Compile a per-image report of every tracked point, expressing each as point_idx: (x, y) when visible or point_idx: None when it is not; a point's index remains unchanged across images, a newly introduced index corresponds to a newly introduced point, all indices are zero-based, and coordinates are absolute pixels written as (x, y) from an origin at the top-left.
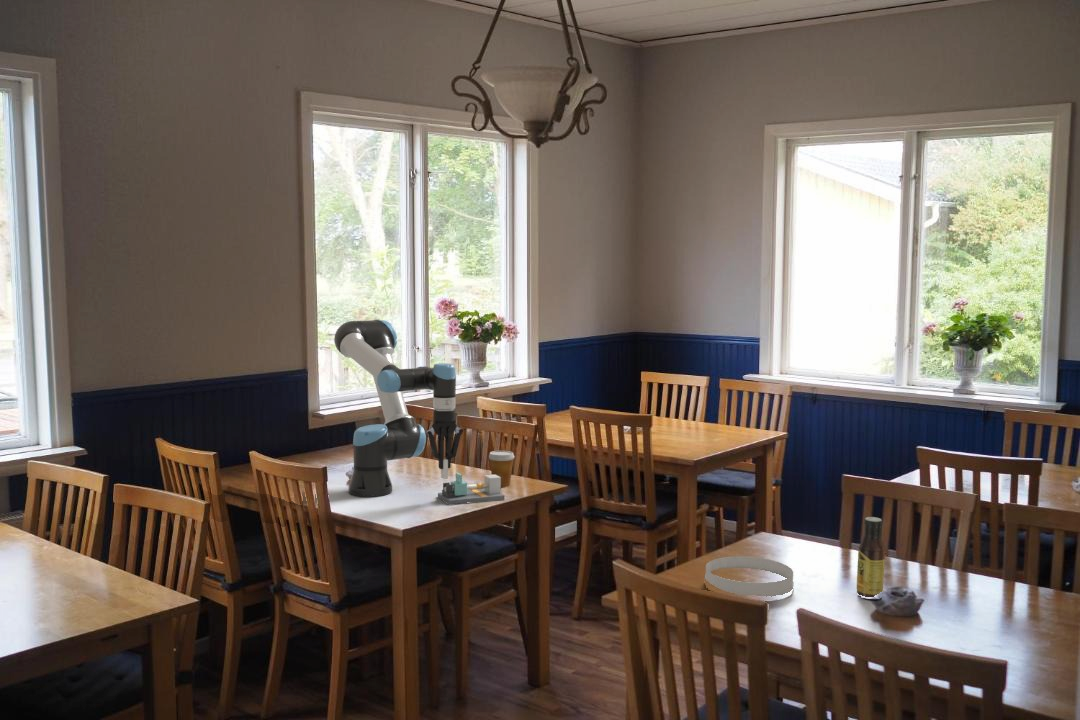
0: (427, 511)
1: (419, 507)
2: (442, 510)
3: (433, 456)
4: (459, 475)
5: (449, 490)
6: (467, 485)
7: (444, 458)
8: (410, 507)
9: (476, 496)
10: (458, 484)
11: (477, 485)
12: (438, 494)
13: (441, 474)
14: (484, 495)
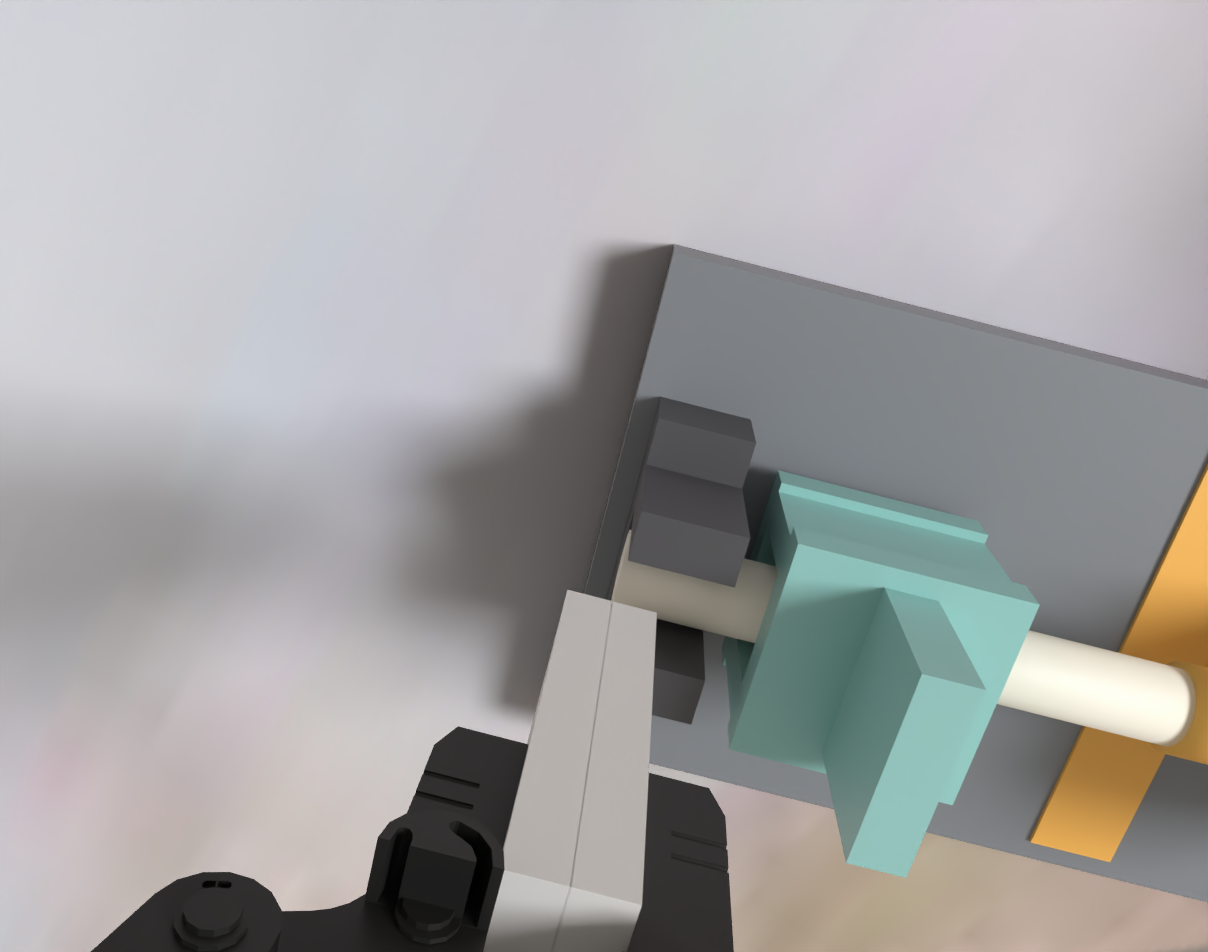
0: (177, 783)
1: (169, 583)
2: (348, 844)
3: (173, 891)
4: (847, 856)
5: None
6: (1011, 698)
7: (602, 911)
8: (66, 517)
9: (990, 774)
10: (791, 761)
11: (1169, 753)
12: (665, 281)
13: (556, 634)
14: (1110, 807)
